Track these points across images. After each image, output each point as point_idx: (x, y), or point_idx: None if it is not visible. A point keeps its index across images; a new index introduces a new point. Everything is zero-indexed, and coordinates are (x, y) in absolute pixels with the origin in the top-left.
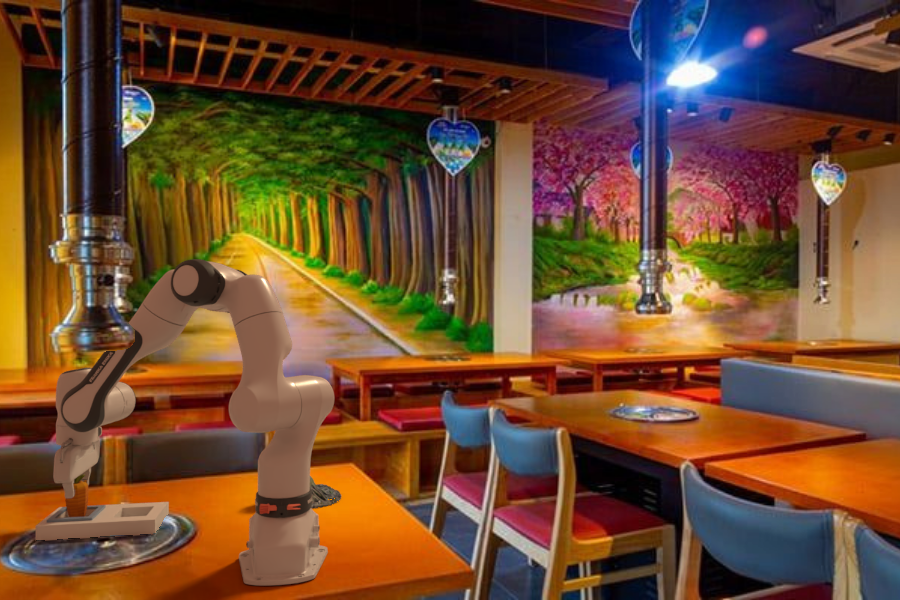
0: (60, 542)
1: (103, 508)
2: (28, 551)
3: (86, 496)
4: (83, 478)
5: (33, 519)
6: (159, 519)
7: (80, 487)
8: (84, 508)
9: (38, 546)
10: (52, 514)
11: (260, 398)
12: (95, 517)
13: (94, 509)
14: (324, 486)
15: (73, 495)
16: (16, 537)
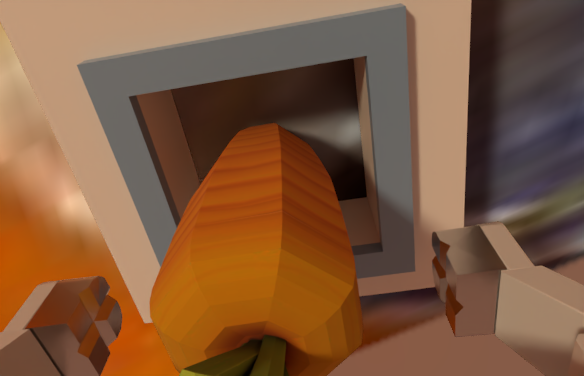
0: (480, 115)
1: (130, 53)
2: (577, 196)
3: (253, 177)
4: (45, 370)
5: (160, 363)
6: None
7: (328, 265)
8: (281, 139)
9: (516, 188)
10: None
11: None
12: (336, 9)
13: (144, 119)
14: None
15: (494, 229)
16: (376, 319)
